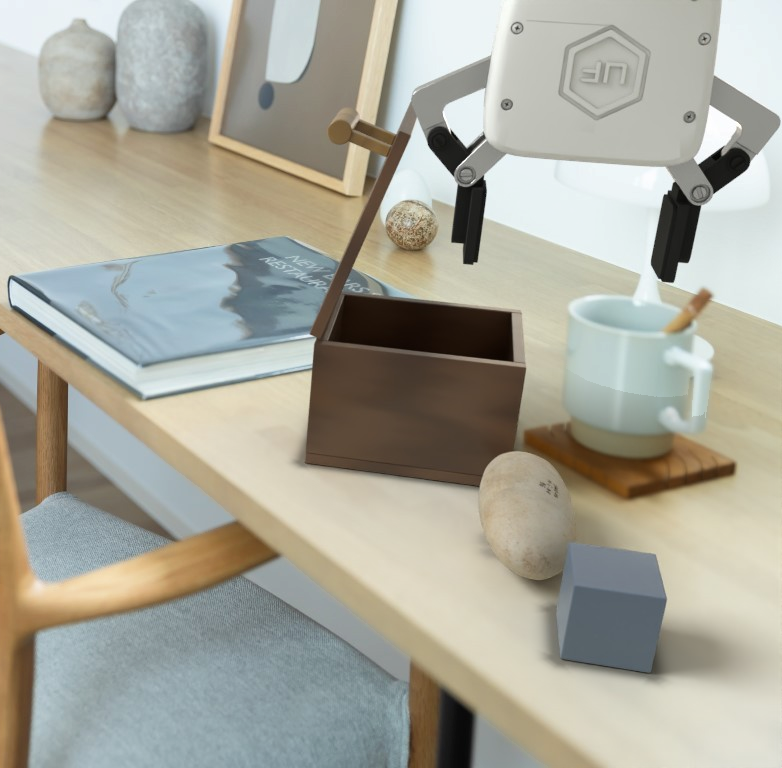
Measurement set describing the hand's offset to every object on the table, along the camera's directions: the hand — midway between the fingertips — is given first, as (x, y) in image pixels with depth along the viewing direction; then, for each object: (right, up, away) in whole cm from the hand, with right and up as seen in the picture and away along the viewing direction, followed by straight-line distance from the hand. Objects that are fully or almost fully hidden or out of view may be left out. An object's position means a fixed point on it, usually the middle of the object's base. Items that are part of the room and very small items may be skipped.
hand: (564, 265), depth 60 cm
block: (+3, -20, +2) cm, 20 cm away
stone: (0, -16, +11) cm, 19 cm away
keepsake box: (-4, -10, +24) cm, 26 cm away
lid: (-7, +5, +18) cm, 20 cm away
